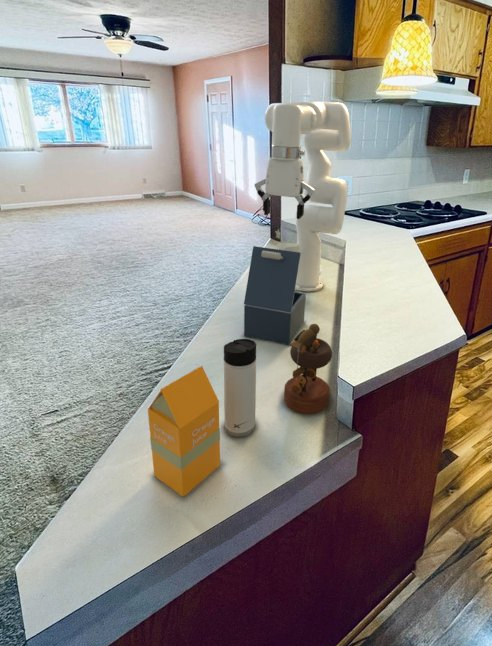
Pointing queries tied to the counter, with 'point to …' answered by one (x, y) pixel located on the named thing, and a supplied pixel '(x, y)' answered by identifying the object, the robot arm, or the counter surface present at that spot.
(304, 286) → the robot arm
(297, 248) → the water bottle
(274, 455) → the counter surface
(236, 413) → the travel mug
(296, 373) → the music box
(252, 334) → the box
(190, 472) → the orange juice
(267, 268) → the lid
